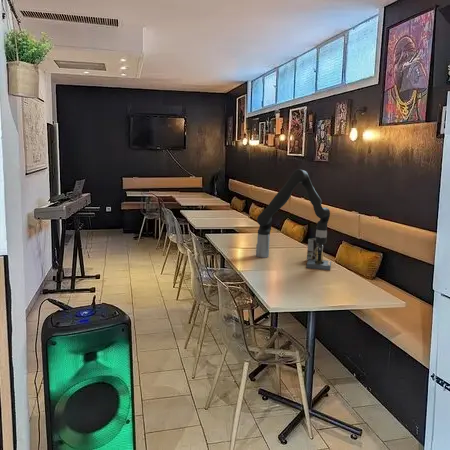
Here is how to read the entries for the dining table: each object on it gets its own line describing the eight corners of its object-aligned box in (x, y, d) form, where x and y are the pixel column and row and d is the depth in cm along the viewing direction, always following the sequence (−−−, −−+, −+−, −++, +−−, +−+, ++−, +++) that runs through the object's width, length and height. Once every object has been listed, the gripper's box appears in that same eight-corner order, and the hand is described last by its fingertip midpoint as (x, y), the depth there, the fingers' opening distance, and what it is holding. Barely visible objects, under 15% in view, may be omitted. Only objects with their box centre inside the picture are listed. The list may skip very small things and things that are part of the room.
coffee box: (313, 261, 338) (314, 240, 335) (306, 259, 343) (307, 238, 340) (321, 260, 344) (322, 239, 341) (314, 258, 348) (315, 237, 346)
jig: (306, 267, 318) (306, 262, 317) (308, 262, 333) (308, 257, 333) (330, 270, 314) (330, 265, 313) (330, 265, 329) (331, 260, 329)
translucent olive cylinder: (315, 264, 322) (316, 252, 320) (316, 263, 326) (317, 251, 325) (322, 265, 321) (323, 252, 319) (322, 264, 325) (323, 251, 324)
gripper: (316, 234, 328) (314, 257, 331) (315, 237, 314) (313, 261, 317) (327, 234, 326) (325, 258, 329) (326, 238, 312) (324, 262, 315)
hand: (319, 259), depth 323 cm, fingers closed on translucent olive cylinder, 4 cm apart
